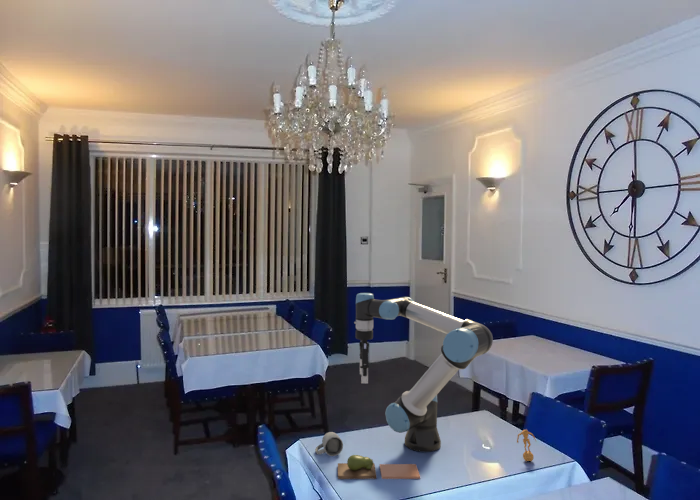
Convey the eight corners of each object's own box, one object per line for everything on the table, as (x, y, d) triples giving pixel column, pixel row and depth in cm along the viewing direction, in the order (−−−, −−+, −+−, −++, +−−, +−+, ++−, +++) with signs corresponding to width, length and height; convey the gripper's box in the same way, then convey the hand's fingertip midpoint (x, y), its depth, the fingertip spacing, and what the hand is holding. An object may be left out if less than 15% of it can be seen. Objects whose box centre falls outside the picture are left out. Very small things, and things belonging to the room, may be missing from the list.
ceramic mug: (338, 446, 216) (338, 428, 216) (343, 455, 208) (343, 436, 208) (313, 449, 214) (313, 431, 213) (317, 458, 206) (317, 439, 205)
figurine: (520, 464, 202) (521, 434, 202) (513, 457, 208) (514, 428, 208) (540, 462, 204) (541, 432, 203) (532, 456, 210) (533, 426, 209)
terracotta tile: (415, 466, 200) (415, 464, 199) (420, 478, 190) (420, 476, 190) (379, 466, 199) (379, 464, 199) (381, 478, 189) (381, 476, 189)
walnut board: (374, 466, 199) (374, 463, 199) (376, 478, 189) (376, 475, 189) (337, 466, 199) (337, 463, 199) (337, 478, 189) (338, 475, 189)
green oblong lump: (346, 452, 195) (370, 453, 199) (344, 466, 195) (368, 467, 198) (351, 458, 190) (376, 459, 193) (349, 472, 190) (374, 473, 193)
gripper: (354, 324, 234) (353, 370, 235) (356, 335, 209) (356, 387, 210) (370, 324, 235) (370, 370, 235) (375, 335, 210) (374, 387, 210)
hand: (363, 378), depth 223 cm, fingers open, 13 cm apart
